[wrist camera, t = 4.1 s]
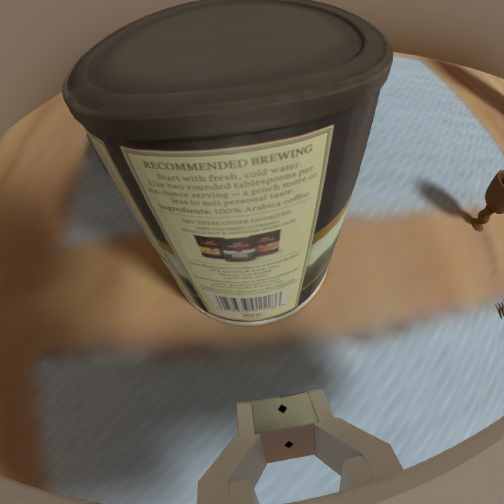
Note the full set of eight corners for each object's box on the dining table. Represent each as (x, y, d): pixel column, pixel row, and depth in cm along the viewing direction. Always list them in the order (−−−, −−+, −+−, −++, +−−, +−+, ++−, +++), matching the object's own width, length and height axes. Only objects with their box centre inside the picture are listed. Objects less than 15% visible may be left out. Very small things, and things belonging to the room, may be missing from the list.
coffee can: (276, 168, 23) (275, -14, 11) (360, 275, 18) (459, 69, 6) (151, 225, 21) (64, 46, 9) (211, 358, 16) (60, 199, 4)
